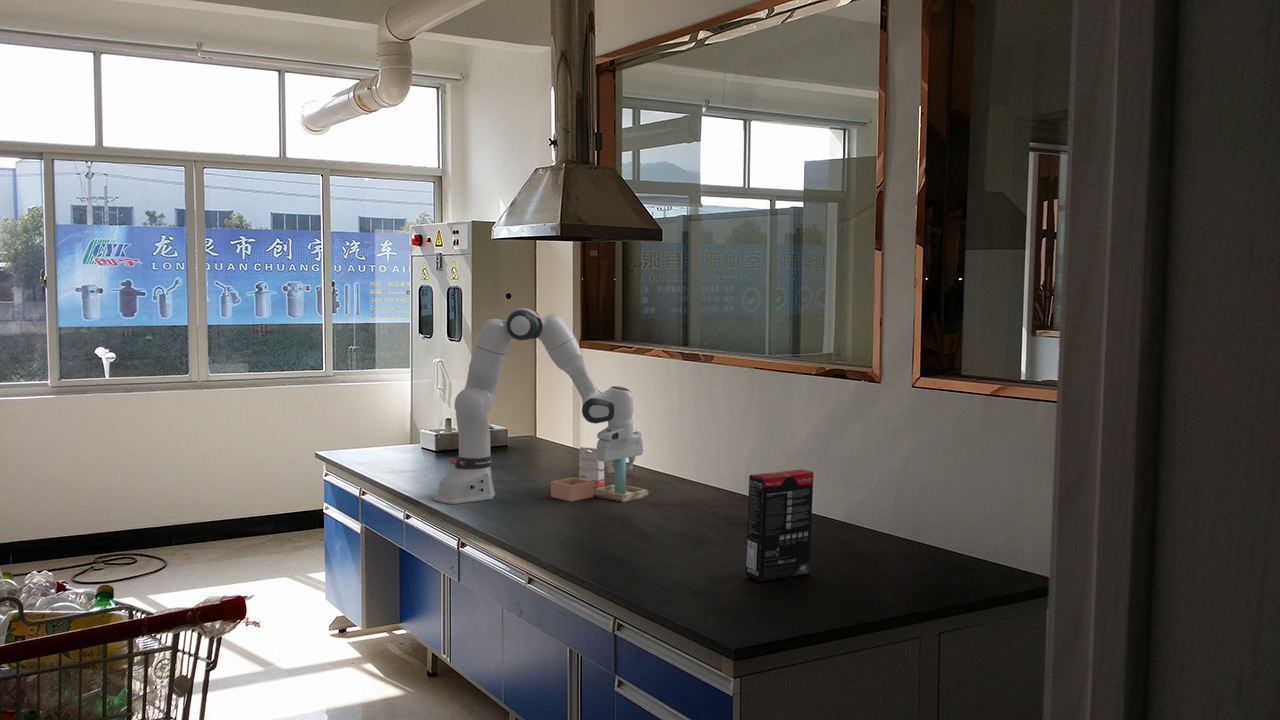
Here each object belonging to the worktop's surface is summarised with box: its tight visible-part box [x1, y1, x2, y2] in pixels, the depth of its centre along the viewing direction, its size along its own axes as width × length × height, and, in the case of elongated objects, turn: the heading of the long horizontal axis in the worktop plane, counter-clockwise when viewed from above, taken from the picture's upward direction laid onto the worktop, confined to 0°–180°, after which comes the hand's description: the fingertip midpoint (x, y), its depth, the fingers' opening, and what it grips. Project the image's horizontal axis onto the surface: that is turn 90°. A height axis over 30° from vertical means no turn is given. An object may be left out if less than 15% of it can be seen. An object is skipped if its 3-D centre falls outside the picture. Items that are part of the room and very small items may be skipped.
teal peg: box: [613, 455, 627, 495], centre depth 352 cm, size 4×4×14 cm
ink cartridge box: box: [578, 446, 605, 489], centre depth 369 cm, size 9×5×15 cm, turn 62°
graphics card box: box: [745, 469, 814, 583], centre depth 256 cm, size 17×7×27 cm, turn 123°
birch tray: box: [593, 484, 649, 503], centre depth 352 cm, size 13×15×2 cm
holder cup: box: [550, 477, 595, 502], centre depth 350 cm, size 11×11×6 cm
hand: (620, 470), depth 352 cm, fingers open, 8 cm apart
